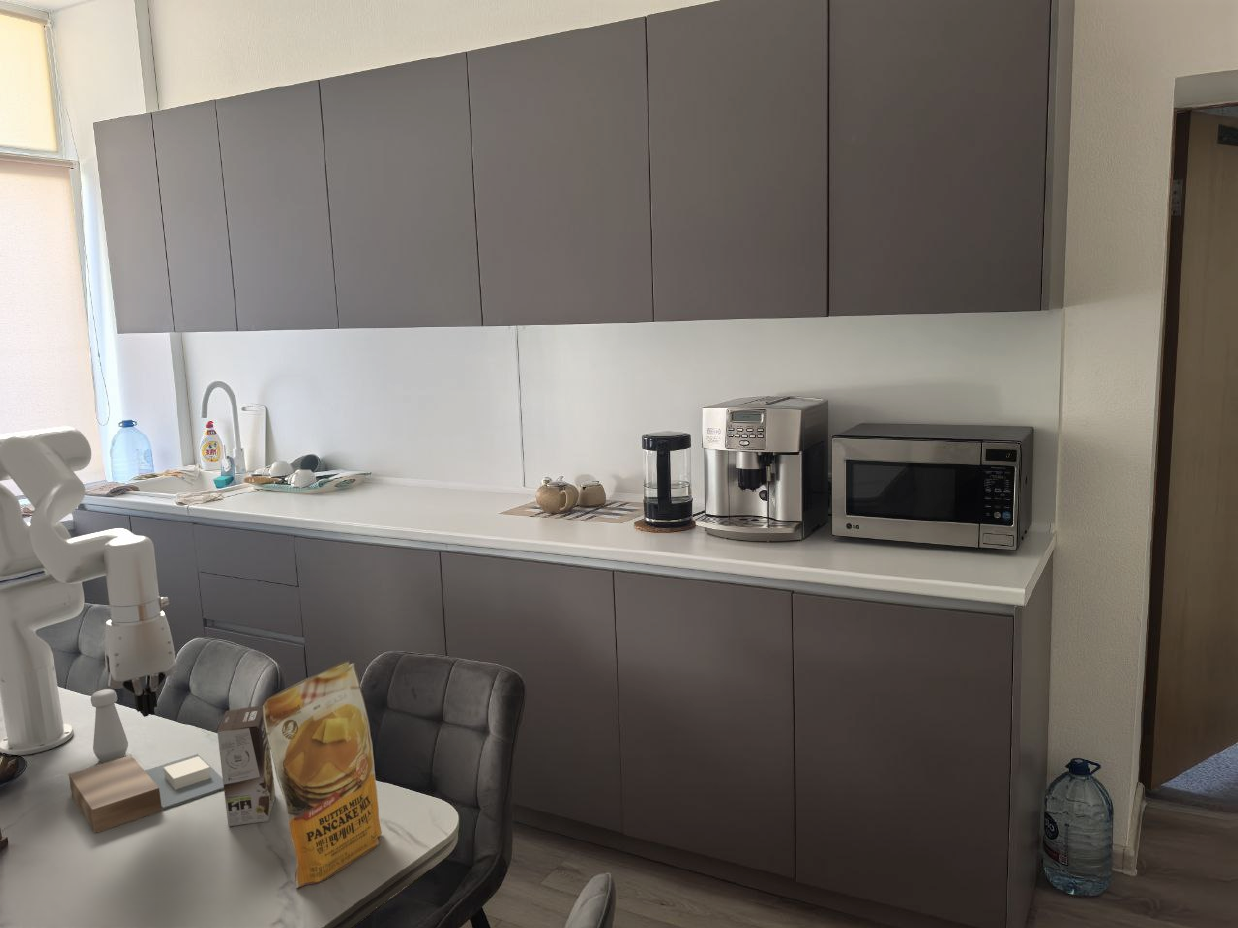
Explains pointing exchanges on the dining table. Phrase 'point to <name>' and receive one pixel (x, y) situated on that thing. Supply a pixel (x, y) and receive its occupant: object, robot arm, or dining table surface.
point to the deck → (114, 793)
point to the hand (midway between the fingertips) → (147, 712)
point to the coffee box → (246, 766)
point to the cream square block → (187, 772)
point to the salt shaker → (108, 727)
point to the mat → (186, 793)
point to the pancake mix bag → (325, 770)
